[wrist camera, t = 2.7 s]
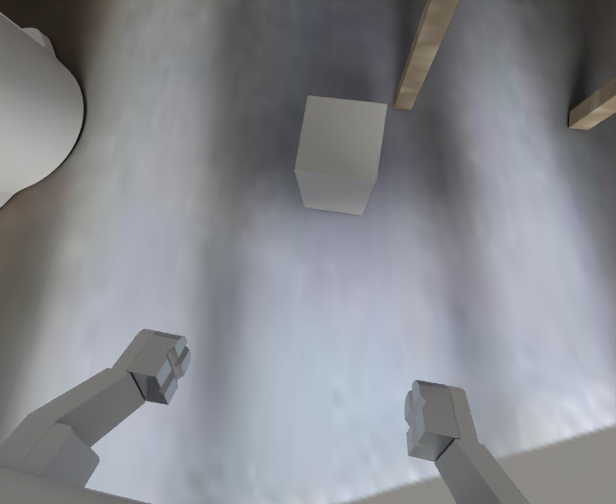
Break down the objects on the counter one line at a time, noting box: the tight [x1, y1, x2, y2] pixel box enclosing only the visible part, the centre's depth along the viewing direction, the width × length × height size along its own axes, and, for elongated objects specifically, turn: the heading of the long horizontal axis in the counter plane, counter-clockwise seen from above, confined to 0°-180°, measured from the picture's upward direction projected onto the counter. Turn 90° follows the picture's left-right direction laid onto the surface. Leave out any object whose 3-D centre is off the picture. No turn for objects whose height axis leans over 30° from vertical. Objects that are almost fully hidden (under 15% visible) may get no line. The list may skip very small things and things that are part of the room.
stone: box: [294, 95, 387, 216], centre depth 23 cm, size 5×5×8 cm
